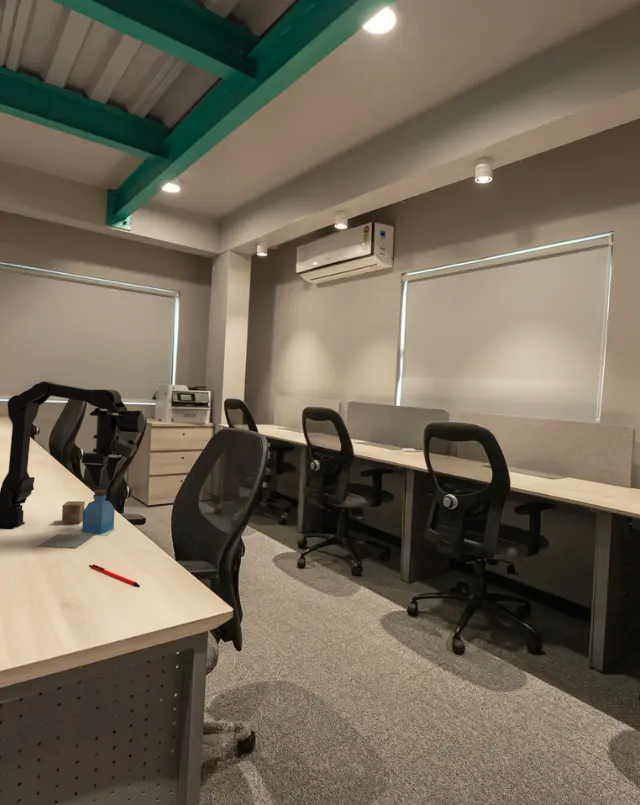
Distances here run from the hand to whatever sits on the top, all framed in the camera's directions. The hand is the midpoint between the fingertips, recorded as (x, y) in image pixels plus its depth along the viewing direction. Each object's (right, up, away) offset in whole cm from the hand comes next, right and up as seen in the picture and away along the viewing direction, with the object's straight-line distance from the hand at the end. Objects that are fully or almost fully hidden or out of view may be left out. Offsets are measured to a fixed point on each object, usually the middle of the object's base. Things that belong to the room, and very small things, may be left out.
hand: (104, 483), depth 147 cm
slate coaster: (-6, -15, -11) cm, 19 cm away
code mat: (-2, -15, 0) cm, 15 cm away
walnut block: (-13, -14, +7) cm, 20 cm away
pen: (+16, -17, -32) cm, 40 cm away
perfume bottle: (-2, -15, 0) cm, 15 cm away
